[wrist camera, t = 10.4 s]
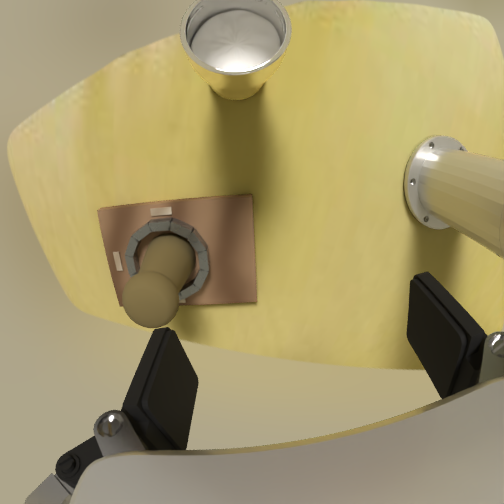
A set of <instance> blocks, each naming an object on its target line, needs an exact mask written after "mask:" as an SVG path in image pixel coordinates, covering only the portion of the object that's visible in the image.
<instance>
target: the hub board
mask: <svg viewBox="0 0 504 504" xmlns="http://www.w3.org/2000/svg"><path fill="white" fill-rule="evenodd" d="M97 212H98V217H99V223H100V228H101V233H102V238H103V242H104V247H105V251H106V256H107V260H108V264H109V268H110V272H111V276H112V280H113V283H114V287H115V291H116V294H117V298H118V301H119V305H120V306H123V303H122V294H123V290H124V287H125V285H126V283H127V282H128V281H129V280H130V279H131V277H130V275H129V273H128V269H127V264H126V260H125V252H126V249H127V246H128V243H129V240H130V238H131V236H132V235H133V234H134V232H135V231H137V230H138V229H139V228H140V227H142V226H143V225H144V224H146V223H147V222H148V221H150V220H152V219H158V218H170V217H173V218H176V219H178V220H181V221H183V222H185V223H187V224H189V225H191V226H194V227H193V228H196V230H197V231H198V232H199V234H200V235H201V236H202V238H203V239H204V240H205V242H206V243H207V246H208V250H209V259H210V269H209V273H208V275H207V277H206V279H205V281H204V283H203V285H202V287H201V289H200V290H199V291H197V292H195V293H194V294H192V295H190V296H189V297H187V298H185V299H182V300H179V305H202V304H224V303H242V302H257V289H256V267H255V245H254V223H253V201H252V194H244V195H228V196H213V197H200V198H188V199H177V200H166V201H156V202H146V203H137V204H128V205H120V206H112V207H104V208H100V209H99V210H97ZM165 233H173V234H176V233H174V232H172V231H170V230H168V231H155V232H151V233H149V234H148V235H146V236H145V237H144V238H142V239H141V241H140V244H139V247H138V250H137V256H138V261H139V265H140V267H141V264H142V261H143V258H144V255H145V253H146V250H147V248H148V245H149V243H150V242H151V241H152V240H153V239H154V238H155V237H156V236H158V235H160V234H165ZM180 236H181V235H180ZM182 237H183V236H182ZM184 238H185V237H184ZM185 239H186V240H187V241H188V239H187V238H185ZM188 242H189V241H188ZM189 243H190V242H189ZM192 247H193V246H192ZM193 249H194V247H193ZM194 250H195V249H194ZM195 254H196V264H195V267H194V269H193V271H192V273H191V274H190V276H189V278H188V279H187V281H186V282H185V284H186V283H188V282H189V281H191V280H193V279H194V278H195V277H196V274H197V272H198V270H199V268H200V266H199V259H198V253H197V251H196V250H195ZM185 284H184V285H185Z"/></svg>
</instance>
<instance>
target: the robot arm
mask: <svg viewBox="0 0 504 504" xmlns="http://www.w3.org/2000/svg"><path fill="white" fill-rule="evenodd" d="M404 190H405V196H406V201H407V204H408V206H409V209H410V211H411V212H412V214H413V216H414V217H415V218H416V219H417V220H418V221H419V222H421V223H422V224H424V225H425V226H427V227H429V228H432V229H445V228H449V227H452V228H454V229H456V230H458V231H459V232H461V233H463V234H464V235H466V236H468V237H469V238H471V239H473V240H474V241H476V242H478V243H479V244H481V245H482V246H484V247H486V248H487V249H489V250H490V251H492V252H493V253H495V254H496V255H498V256H499V257H501V258H503V259H504V160H501V159H497V158H493V157H489V156H485V155H480V154H476V153H471V152H468V151H467V150H466V148H465V147H464V146H463V145H462V144H461V143H460V142H459V141H457V140H456V139H454V138H452V137H449V136H442V135H438V136H432V137H429V138H427V139H425V140H424V141H422V142H421V143H420V144H419V145H418V146H417V147H416V148H415V150H414V151H413V153H412V155H411V156H410V159H409V161H408V164H407V167H406V171H405V179H404ZM407 338H408V341H409V343H410V344H411V346H412V348H413V349H414V351H415V353H416V354H417V356H418V358H419V360H420V361H421V363H422V365H423V366H424V368H425V370H426V372H427V373H428V375H429V377H430V378H431V381H432V382H433V384H434V386H435V388H436V389H437V391H438V393H439V395H440V397H441V398H442V400H439V401H436V402H434V403H431V404H429V405H426V406H423V407H421V408H418V409H415V410H413V411H410V412H407V413H404V414H402V415H398V416H395V417H392V418H389V419H386V420H383V421H380V422H376V423H373V424H369V425H366V426H362V427H358V428H354V429H350V430H347V431H342V432H338V433H334V434H329V435H325V436H320V437H315V438H309V439H304V440H298V441H292V442H286V443H279V444H272V445H263V446H255V447H244V448H231V449H212V450H186V448H187V442H188V436H189V431H190V426H191V420H192V415H193V409H194V404H195V399H196V393H197V388H198V377H197V375H196V373H195V371H194V369H193V367H192V365H191V363H190V361H189V359H188V357H187V355H186V353H185V351H184V349H183V347H182V345H181V343H180V341H179V339H178V337H177V334H176V332H175V331H174V330H171V329H170V328H168V327H166V328H159V329H155V330H154V331H153V333H152V335H151V338H150V340H149V342H148V345H147V347H146V349H145V351H144V354H143V356H142V358H141V361H140V363H139V366H138V368H137V370H136V373H135V375H134V378H133V380H132V382H131V385H130V387H129V390H128V392H127V395H126V397H125V400H124V402H123V407H122V409H121V411H119V410H111V411H108V412H105V413H104V414H102V415H101V416H100V417H99V418H98V419H97V421H96V422H95V424H94V429H93V430H94V434H95V436H93V437H92V438H90V439H88V440H86V441H85V442H83V443H82V444H80V445H78V446H77V447H75V448H73V449H72V450H70V451H68V452H67V453H65V454H63V456H61V457H60V458H59V460H58V461H57V464H56V469H55V470H56V474H55V475H54V474H52V473H51V474H50V475H49V476H48V477H47V478H46V479H45V480H44V481H43V482H42V484H40V485H39V486H38V487H37V488H36V489H35V490H34V491H33V492H32V493H31V494H30V495H29V496H28V497H27V499H26V500H25V504H504V332H494V333H492V334H490V335H489V336H487V335H486V334H485V332H484V330H483V329H482V328H481V327H480V326H479V324H478V323H477V322H476V321H475V320H474V319H473V318H472V317H471V316H470V314H469V313H468V312H467V311H466V310H465V309H464V308H463V307H462V306H461V305H460V304H459V303H458V302H457V300H456V299H455V298H454V297H453V296H452V295H451V294H450V293H449V292H448V291H447V290H446V289H445V288H444V287H443V286H442V285H441V284H440V283H439V282H438V281H437V280H436V279H435V278H434V277H433V276H432V275H431V274H430V273H429V272H424V273H421V274H417V275H415V276H414V278H413V280H411V281H410V295H409V311H408V324H407Z"/></svg>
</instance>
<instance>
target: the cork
mask: <svg viewBox="0 0 504 504" xmlns="http://www.w3.org/2000/svg"><path fill="white" fill-rule="evenodd" d="M195 264H196V254H195V250H194V249H193V247H192V245H191V243H189V242H188V241H187V240H186V239H185V238H184V237H182V236H180V235H178V234H173V233H165V234H160V235H158V236H156V237H155V238H154V239H153V240H152V241H151V242H150V243H149V245H148V248H147V250H146V253H145V255H144V258H143V261H142V264H141V267H140V270H139V272H138V274H136V275H134V276H132V277H131V279H130V280H129V281H128V282H127V283H126V285H125V287H124V290H123V294H122V303H123V306H124V309H125V311H126V313H127V315H128V316H129V317H130V319H131V320H133V321H134V322H135V323H137V324H139V325H141V326H143V327H147V328H158V327H161V326H164V325H166V324H168V323H169V322H170V321H171V320H172V319H173V318H174V317H175V315H176V313H177V311H178V307H179V295H178V293H179V292H180V290H181V289H182V287H183V285H184V284H185V282H186V281H187V279H188V278H189V276H190V274H191V273H192V271H193V269H194V267H195Z"/></svg>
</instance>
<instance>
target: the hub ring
mask: <svg viewBox="0 0 504 504" xmlns="http://www.w3.org/2000/svg"><path fill="white" fill-rule="evenodd" d="M193 227H194V226H191V225H189V224H187V223H185V222H183V221H181V220H178V219H176V218H173V217H170V218H158V219H152V220H150V221H148V222H147V223H146V224H144V225H143V226H142V227H140V228H139V229H138V230H137V231H135V232H134V234H133V235H132V236H131V238H130V240H129V243H128V246H127V249H126V252H125V260H126V264H127V269H128V273H129V275H130V277H132V276H134V275H136V274H138V272H139V270H140V265H139V261H138V256H137V250H138V247H139V244H140V241H141V239H142V238H144V237H145V236H146V235H148V234H149V233H151V232H155V231H168V230H170V231H172V232H174V233H176V234H178V235H181V236H183V237H185V238H187V239H188V241H189V242H190V243H191V245H192V246H193V247H194V249H195V250H196V251H197V253H198V259H199V266H200V268H199V270H198V272H197V274H196V277H195V278H194V279H193V280H191V281H189V282H188V283H186V284H185V285H183V287H182V289H181V290H180V292H179V293H178V295H179V300H182V299H185V298H187V297H189V296H190V295H192V294H194V293H195V292H197V291H199V290H200V289H201V287H202V285H203V283H204V281H205V279H206V277H207V275H208V273H209V269H210V259H209V250H208V246H207V243H206V242H205V240H204V239H203V238H202V236H201V235H200V234H199V232H198V231H197V230H196V228H193Z"/></svg>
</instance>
